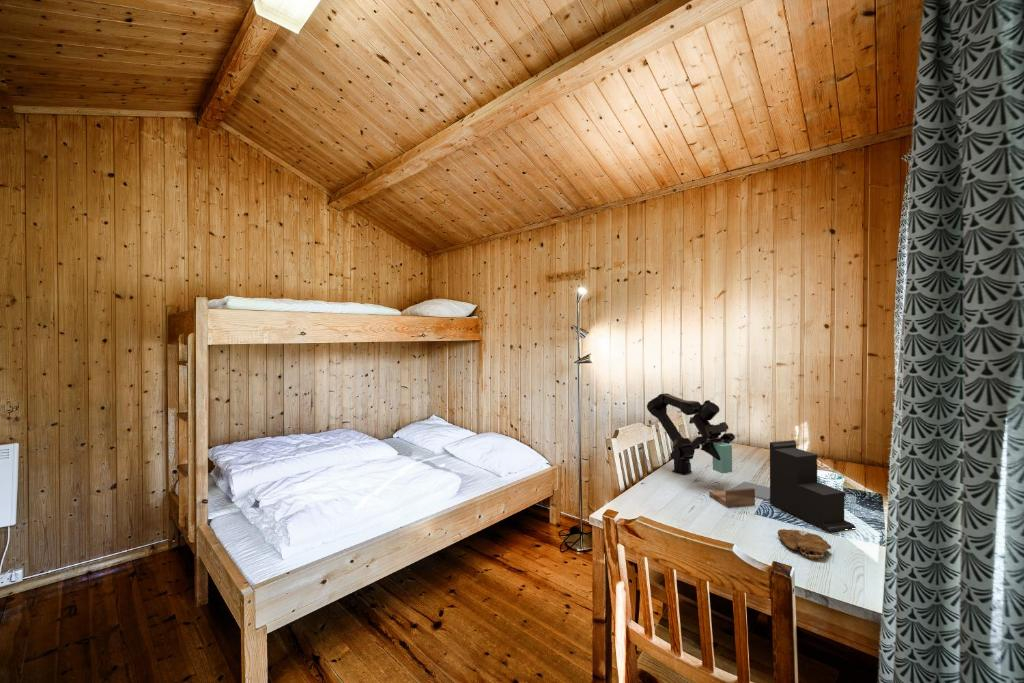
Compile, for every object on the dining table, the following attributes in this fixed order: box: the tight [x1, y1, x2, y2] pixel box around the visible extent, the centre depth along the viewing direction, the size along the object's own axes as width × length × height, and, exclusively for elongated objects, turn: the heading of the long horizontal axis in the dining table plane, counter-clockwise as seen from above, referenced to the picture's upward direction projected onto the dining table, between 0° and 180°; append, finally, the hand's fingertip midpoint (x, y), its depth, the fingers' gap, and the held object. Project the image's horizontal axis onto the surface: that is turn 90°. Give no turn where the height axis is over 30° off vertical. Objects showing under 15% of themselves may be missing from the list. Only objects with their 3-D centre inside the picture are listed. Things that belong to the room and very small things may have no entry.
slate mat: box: [731, 481, 770, 501], centre depth 166 cm, size 14×14×1 cm
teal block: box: [712, 442, 733, 474], centre depth 168 cm, size 5×5×11 cm
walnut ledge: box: [709, 488, 756, 508], centre depth 157 cm, size 11×11×6 cm
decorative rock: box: [777, 528, 832, 560], centre depth 121 cm, size 11×4×15 cm
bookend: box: [769, 439, 857, 533], centre depth 143 cm, size 23×11×24 cm, turn 11°
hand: (725, 459), depth 167 cm, fingers closed on teal block, 5 cm apart
